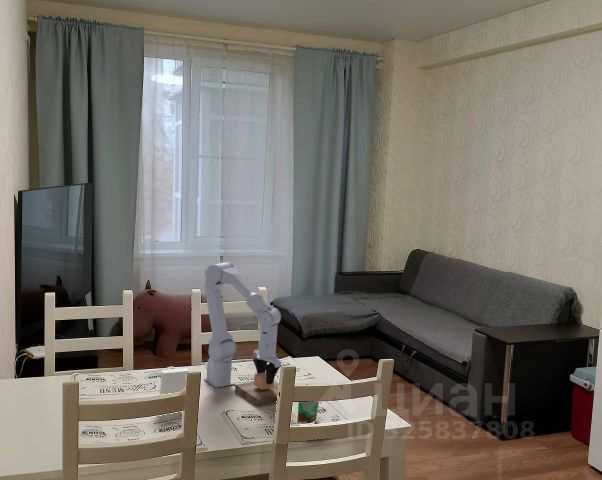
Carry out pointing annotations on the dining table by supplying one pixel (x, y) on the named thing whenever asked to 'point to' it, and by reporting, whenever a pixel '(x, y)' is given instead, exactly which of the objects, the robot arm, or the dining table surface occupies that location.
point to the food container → (307, 411)
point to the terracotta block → (262, 381)
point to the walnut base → (257, 393)
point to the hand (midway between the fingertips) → (265, 381)
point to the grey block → (173, 380)
